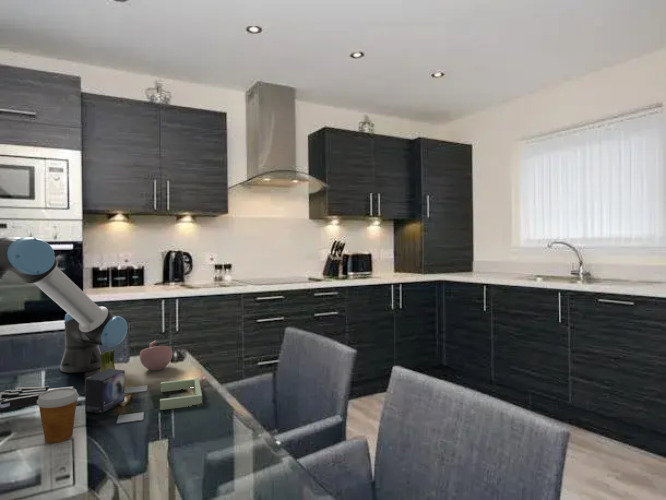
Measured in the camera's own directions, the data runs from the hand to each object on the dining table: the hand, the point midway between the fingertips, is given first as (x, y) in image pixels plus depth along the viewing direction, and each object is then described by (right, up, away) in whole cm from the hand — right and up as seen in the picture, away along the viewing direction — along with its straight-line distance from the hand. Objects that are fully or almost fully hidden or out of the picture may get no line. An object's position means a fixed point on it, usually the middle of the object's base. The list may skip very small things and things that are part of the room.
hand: (72, 391), depth 135 cm
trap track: (+24, -6, +10) cm, 26 cm away
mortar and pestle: (+9, -5, +41) cm, 42 cm away
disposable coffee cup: (+6, -7, -17) cm, 20 cm away
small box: (+8, -6, +4) cm, 11 cm away
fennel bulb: (-1, -5, +24) cm, 24 cm away
